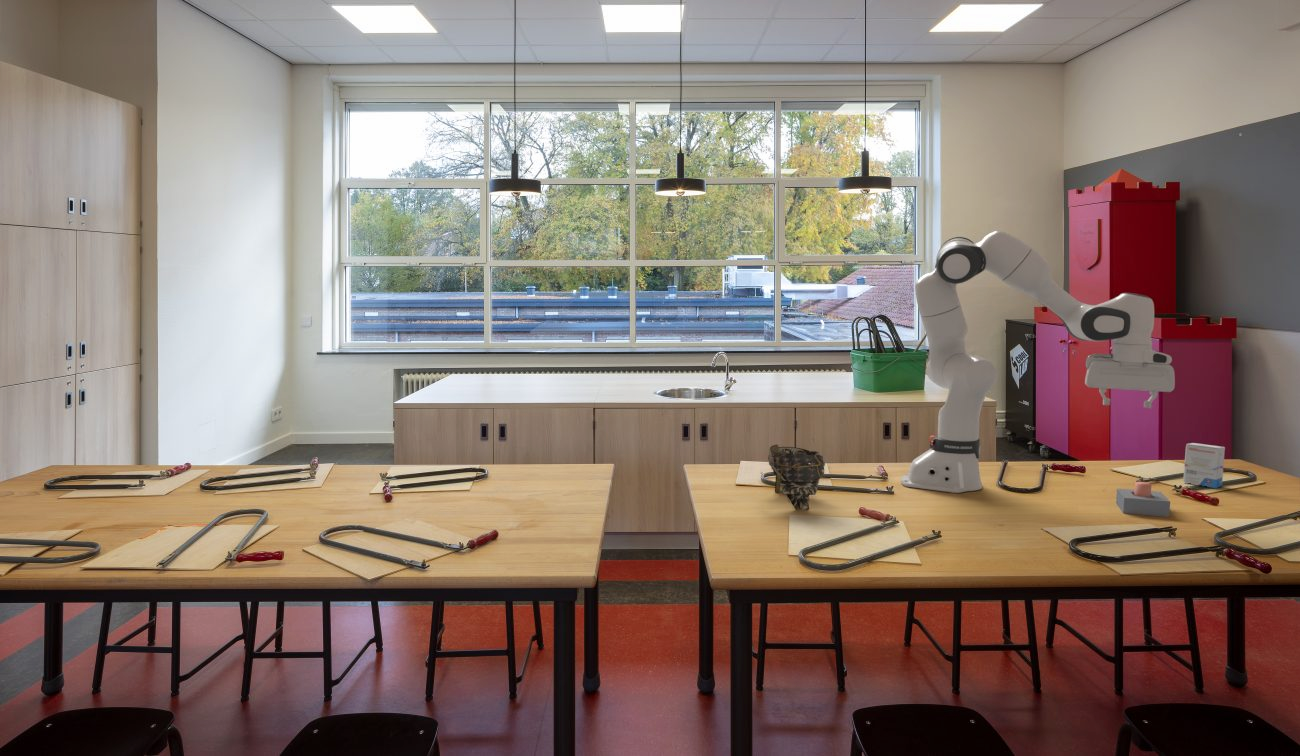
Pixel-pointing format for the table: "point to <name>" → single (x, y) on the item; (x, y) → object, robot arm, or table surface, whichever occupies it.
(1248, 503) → the table surface
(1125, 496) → the socket
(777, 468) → the checked fabric bag
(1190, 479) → the ink box
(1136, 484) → the peg
